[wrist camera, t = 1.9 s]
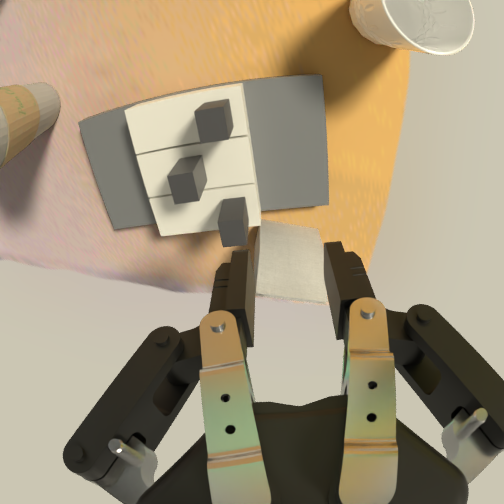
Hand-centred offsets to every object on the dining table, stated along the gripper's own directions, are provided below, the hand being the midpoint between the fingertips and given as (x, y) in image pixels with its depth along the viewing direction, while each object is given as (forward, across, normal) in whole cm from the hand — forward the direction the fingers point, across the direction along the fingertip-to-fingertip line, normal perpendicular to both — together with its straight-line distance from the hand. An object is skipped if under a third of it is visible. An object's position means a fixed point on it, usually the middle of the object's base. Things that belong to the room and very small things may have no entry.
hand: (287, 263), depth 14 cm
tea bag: (+19, 0, +12) cm, 23 cm away
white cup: (+19, -12, -13) cm, 26 cm away
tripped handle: (+14, +7, 0) cm, 16 cm away
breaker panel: (+19, +7, 0) cm, 20 cm away
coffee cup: (+19, +25, -10) cm, 33 cm away
